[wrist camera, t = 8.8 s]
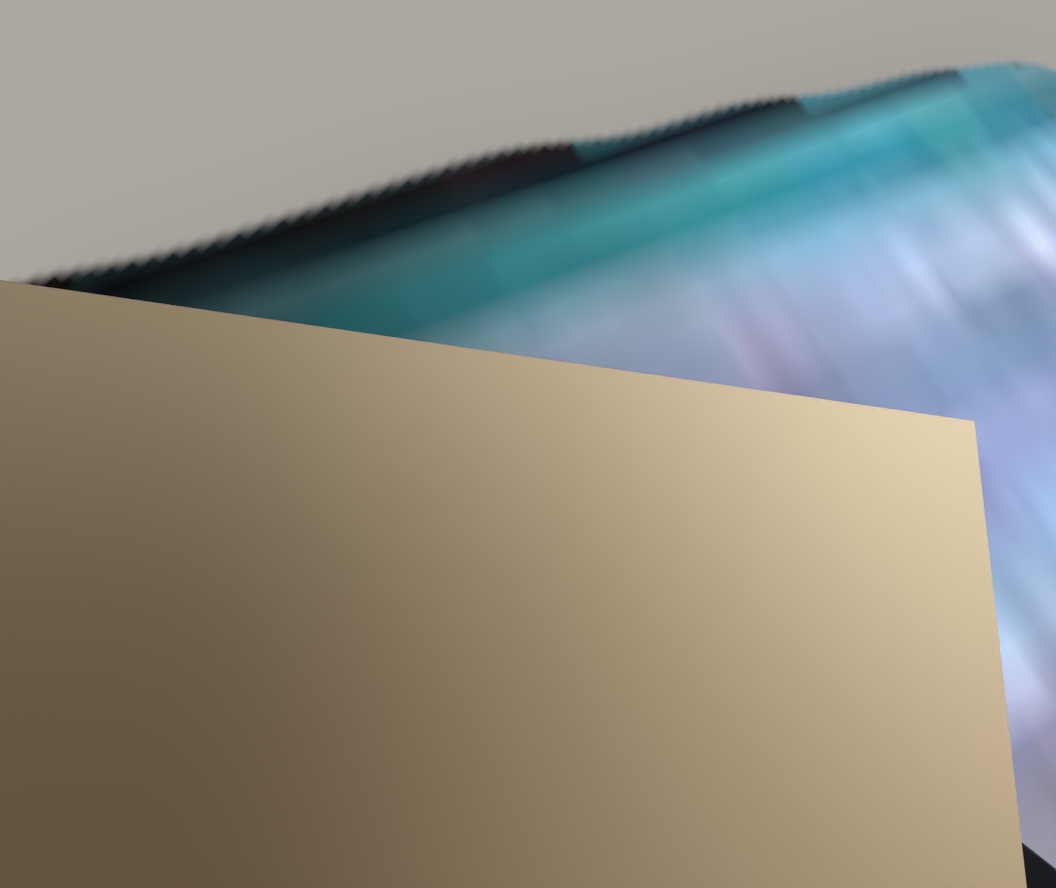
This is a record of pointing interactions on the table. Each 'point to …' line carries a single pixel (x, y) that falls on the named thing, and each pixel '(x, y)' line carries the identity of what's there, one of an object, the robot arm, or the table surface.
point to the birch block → (477, 620)
